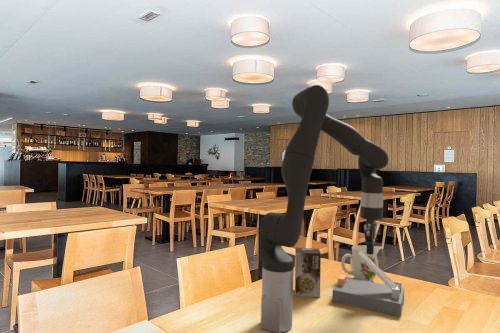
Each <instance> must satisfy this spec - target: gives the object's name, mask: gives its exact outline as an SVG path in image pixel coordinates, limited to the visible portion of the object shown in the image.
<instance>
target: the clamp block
mask: <svg viewBox="0 0 500 333" xmlns="http://www.w3.org/2000/svg"><path fill="white" fill-rule="evenodd" d="M393 282H394V283H395V284H396V285H399V286H400V289H394V288H392V290H391V289H390V288H389V287H388V286H387V285H386V284H385V283H380V282H375V281H372V282H370V281H365V280H359V279H355V278H353V277H349V276H347V281H346V283H345V285H344V286H339V285H338V283H336V285H335V286H334V287H333V289H332V300H331V301H332V302H334V303H338V304H343V305H347V306H348V305H349V306H353V307H357V308H361V309H366V310H370V311H375V312H380V313H383V314H384V313H385V314H388V315H394V316H399V317H401V315H402V311H403V306H404V301H405V287H403V286H402V285H403V284H402V283H403V282H402V281H394V280H393Z"/></svg>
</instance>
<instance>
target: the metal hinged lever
mask: <svg viewBox="0 0 500 333" xmlns="http://www.w3.org/2000/svg"><path fill="white" fill-rule="evenodd" d="M357 256H358V257H359V258H360V259H361V260H362V261H363V262H364V263H365V264H366V265H367V266H368V267H369V268H370V269H371V270H372V271H373V272H374V273H375V274H376V277H378V278H379V279H380V280H381V281H382V282H383V284H386V285H387V286H388V287H389V288H390V289H391V290H392V288H394V289H400V286H399V285H396V284H395V283H394V280H392V278H390V277H389V276H388V275H387V274H386V273H385V272H384V271H383V270H382V269H381V268H380V267H379V265H378V266H377V265H376V264H375V263H374V262H373V261H372V260H371V259H370V258H369V257H367V256H366V255H365V254H364V253H363V252H362V251H361V250H360V251H359V252H358V254H357Z"/></svg>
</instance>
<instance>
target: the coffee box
mask: <svg viewBox="0 0 500 333" xmlns="http://www.w3.org/2000/svg"><path fill="white" fill-rule="evenodd" d="M294 252H295V254H294V255H295V256H294V258H295V260H294V296H295V297H308V298H309V297H310V298H311V297H312V298H313V297H314V298H321V269H322V268H321V267H322V266H321V264H322V263H321V261H322V260H321V258H322V256H321V255H322V253H321V251H320V249H319V248H311V247H310V248H309V247H307V248H306V247H296V248H295V251H294Z"/></svg>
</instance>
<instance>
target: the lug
mask: <svg viewBox="0 0 500 333" xmlns="http://www.w3.org/2000/svg"><path fill="white" fill-rule="evenodd" d="M347 275H348V274H347ZM347 275H346V274H340V275H339V277H338V278H337V284H338V285H339V286H344V285H345V283H346V281H347V277H348V276H347Z"/></svg>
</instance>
